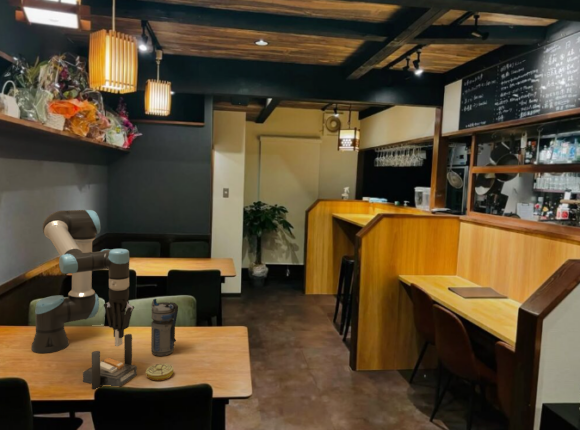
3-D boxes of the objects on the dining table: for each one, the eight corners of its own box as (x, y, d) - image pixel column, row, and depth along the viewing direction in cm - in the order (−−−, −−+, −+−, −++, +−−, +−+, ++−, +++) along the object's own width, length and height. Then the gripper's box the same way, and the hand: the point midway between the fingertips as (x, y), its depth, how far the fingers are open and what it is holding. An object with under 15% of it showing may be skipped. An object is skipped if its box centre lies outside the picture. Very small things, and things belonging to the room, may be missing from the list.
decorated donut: (156, 368, 179) (156, 360, 179) (178, 373, 176) (178, 364, 176) (140, 379, 169) (140, 370, 169) (163, 384, 166) (163, 374, 166)
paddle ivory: (96, 366, 166) (96, 363, 166) (101, 363, 169) (101, 361, 169) (112, 373, 164) (112, 370, 164) (116, 370, 167) (117, 367, 167)
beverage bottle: (170, 359, 188) (171, 305, 186) (145, 354, 192) (145, 301, 190) (182, 350, 198) (183, 299, 196) (158, 346, 202) (158, 296, 199)
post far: (122, 367, 178) (122, 336, 177) (127, 364, 181) (127, 333, 180) (128, 369, 177) (128, 337, 176) (133, 366, 180) (133, 334, 179)
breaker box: (82, 381, 165) (82, 369, 165) (104, 368, 177) (104, 357, 176) (117, 388, 161) (117, 376, 160) (137, 375, 172) (137, 363, 172)
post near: (89, 388, 160) (89, 353, 159) (95, 385, 163) (95, 350, 162) (96, 390, 159) (96, 354, 158) (102, 386, 162) (101, 351, 161)
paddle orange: (103, 362, 170) (104, 359, 170) (108, 359, 173) (108, 357, 172) (119, 368, 168) (119, 366, 168) (123, 366, 171) (124, 363, 170)
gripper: (98, 288, 165) (98, 345, 167) (126, 292, 161) (126, 351, 164) (111, 283, 172) (111, 339, 174) (138, 287, 168) (138, 344, 171)
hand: (118, 344), depth 169 cm, fingers closed
